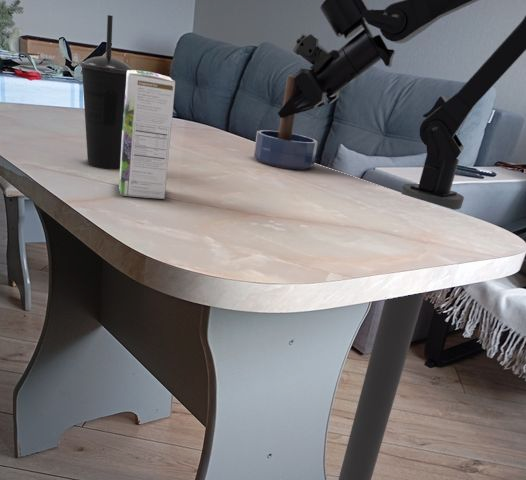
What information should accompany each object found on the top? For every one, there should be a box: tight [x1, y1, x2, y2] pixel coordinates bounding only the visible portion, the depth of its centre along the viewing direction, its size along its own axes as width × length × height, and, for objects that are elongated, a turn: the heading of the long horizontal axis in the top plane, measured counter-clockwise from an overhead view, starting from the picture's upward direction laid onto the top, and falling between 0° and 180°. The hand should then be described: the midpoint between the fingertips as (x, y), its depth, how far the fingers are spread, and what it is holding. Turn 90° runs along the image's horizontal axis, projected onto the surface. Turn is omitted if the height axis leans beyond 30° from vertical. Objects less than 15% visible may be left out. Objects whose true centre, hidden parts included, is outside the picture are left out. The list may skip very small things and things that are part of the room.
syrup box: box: [118, 69, 176, 200], centre depth 78 cm, size 6×6×14 cm
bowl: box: [253, 129, 319, 171], centre depth 117 cm, size 11×11×5 cm
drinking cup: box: [79, 14, 135, 170], centre depth 88 cm, size 8×8×20 cm
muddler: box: [278, 74, 297, 141], centre depth 115 cm, size 3×3×14 cm
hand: (281, 115), depth 116 cm, fingers closed on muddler, 2 cm apart
